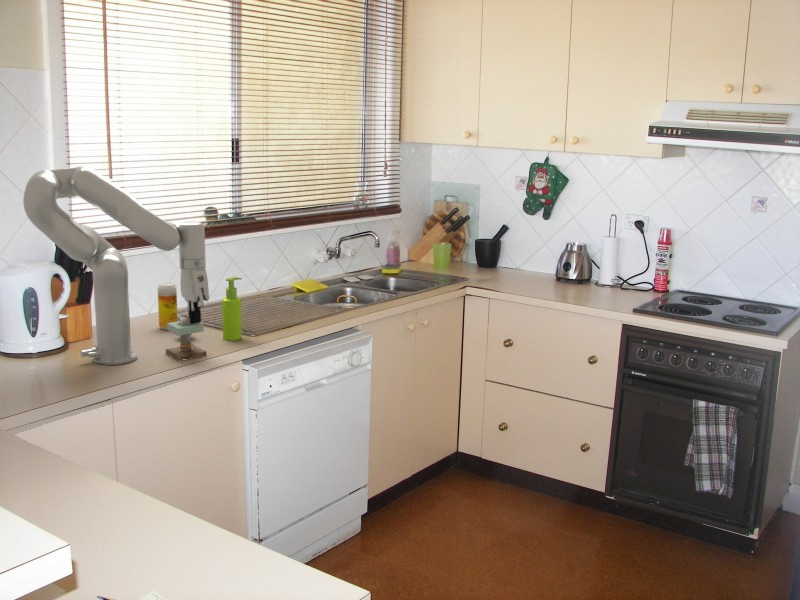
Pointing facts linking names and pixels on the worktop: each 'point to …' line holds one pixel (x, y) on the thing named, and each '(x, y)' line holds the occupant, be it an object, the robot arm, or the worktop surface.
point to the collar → (184, 328)
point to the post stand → (185, 345)
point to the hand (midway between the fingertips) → (194, 322)
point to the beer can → (167, 304)
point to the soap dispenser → (231, 312)
